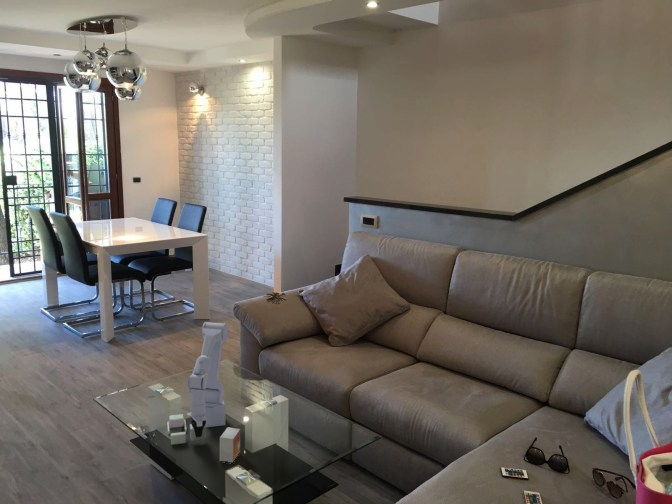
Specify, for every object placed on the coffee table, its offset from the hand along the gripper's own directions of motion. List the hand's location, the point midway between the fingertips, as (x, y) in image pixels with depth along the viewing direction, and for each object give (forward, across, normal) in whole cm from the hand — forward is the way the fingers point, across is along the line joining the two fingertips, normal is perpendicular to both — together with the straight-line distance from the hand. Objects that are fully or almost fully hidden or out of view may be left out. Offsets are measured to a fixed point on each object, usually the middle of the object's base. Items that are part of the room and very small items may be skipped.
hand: (198, 433), depth 226 cm
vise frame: (+4, -9, -8) cm, 13 cm away
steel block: (+2, 0, 0) cm, 2 cm away
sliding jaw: (+4, -16, -8) cm, 18 cm away
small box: (+4, +13, +11) cm, 18 cm away
